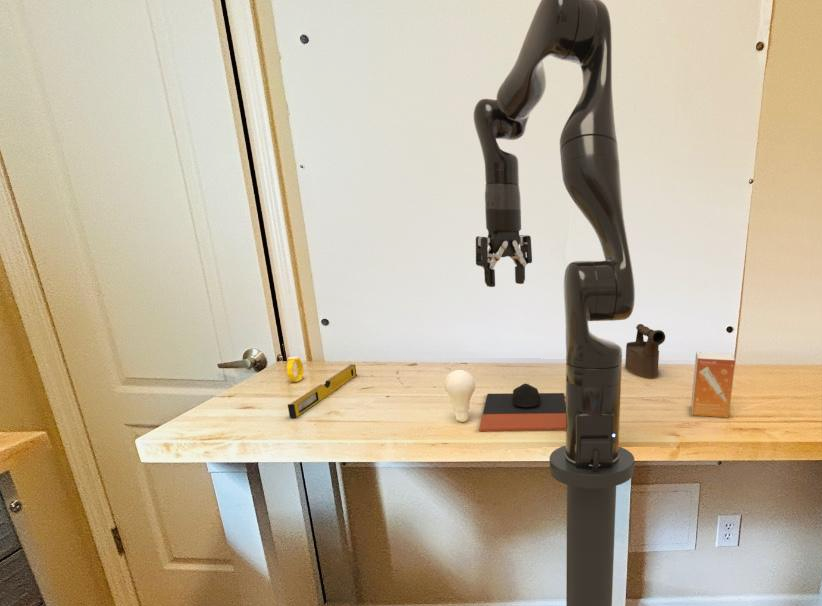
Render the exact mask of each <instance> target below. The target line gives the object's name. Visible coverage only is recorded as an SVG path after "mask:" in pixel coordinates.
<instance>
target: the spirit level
mask: <svg viewBox="0 0 822 606" xmlns="http://www.w3.org/2000/svg"><path fill="white" fill-rule="evenodd" d="M356 368H357V366H356V364H349V365H348V366H346V367H345V368H344V369H342V370H341V371H339V372H338V373H336V374H335V375H333V376H331V377H330V378H327V380H325V383H323V384H319V385H317V386H316V387H314V388H313V389H311V390H310V391H308V392H306V393H305V394H304V395H301V396H300V397H298V398H297V399H296V400H294V401H292V402H291V403H290V404H289V403H287V410H288V414H289V418H290V419H297V418H298V417H299V416H301V415H302V414H303V413H305V412H306V411H307V410H310V409H311V408H312V407H313V406H315V405H316V404H318V403H319V402H321V401H322V400H323V399H325V398H326V397H327V396H329V395H331V394H333V392H335V391H336V390H338V389H339V388H341V387H342V386H343V385H344V384H346V383H348V382H350V381H351V380H352V379H353V378H355V377H357V376H358V375H357V374H358V373H357V369H356Z"/></svg>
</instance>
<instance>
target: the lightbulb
mask: <svg viewBox="0 0 822 606" xmlns="http://www.w3.org/2000/svg"><path fill="white" fill-rule="evenodd" d="M443 383H444V384H443V385H444V386H443V387H444V390H445V392H446V394H447V395H448V397H449V398H450V400H451V402H452V407H453V411H454V413H455V419H456V420H457V421H458V422H460V423H464V422H466V421H467V420H468V419H469V410H470V402H471V399H472V396H473V394H474V393H475V389H476V381H475V379H474V377H473V376H472V374H471V373H469V372H468V371H466V370H464V369H456V370H453V371H451V372H449V373H448V374H447V376H446V377H445V380H444V382H443Z"/></svg>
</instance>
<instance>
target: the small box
mask: <svg viewBox="0 0 822 606" xmlns="http://www.w3.org/2000/svg"><path fill="white" fill-rule="evenodd" d="M735 366H736V358H735V357H734V354H733V353H726V352H725V353H724V352H723V353H722V352H703V351H700V352H699V351H696V352H695V359H694V369H693V370H694V371H693V380H692V381H693V383H692V393H691V404H690V405H691V406H690V408H691V415H692V416H702V417H715V418H725V419H727V418H729V417H730V408H731V400H732V393H733V392H732V391H733V383H734V375H735Z"/></svg>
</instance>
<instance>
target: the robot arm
mask: <svg viewBox="0 0 822 606" xmlns="http://www.w3.org/2000/svg"><path fill="white" fill-rule="evenodd" d="M612 38H613V37H612V24H611V16H610V12H609V9H608V7H607V5H606V4H605V3H604V2H603V1H602V0H540V2H539V3H538V6H537V7H536V10H535V12H534V15H533V18H532V20H531V22H530V24H529V28H528V30H527V32H526V35H525V37H524V40H523V43H522V45H521V48H520V50H519V53H518V55H517V58H516V61H515V63H514V65H513V66H512V68H511V70H510V71H509V73H508V74H507V76H506V77H505V78H504V80H503V82H502V83H501V84H500V86H499V88H498V90H497V93H496V99H492V98H481V99H480V100H478V101H477V103H476V104H475V106H474V108H473V109H474V110H473V124H474V128H475V132H476V135H477V138H478V142H479V145H480V148H481V154H482V158H483V162H484V163H483V164H484V178H485V179H484V181H485V186H484V209H485V229H486V230H487V236H481V235H479V236H478V235H477V236H476V237H475V265H476V266H479V267H481V268H483V271H484V272H483V273H484V274H483V275H484V283H485V285H486V287H488V288H494V287H496V271H495V270H496V269H495V267H496V264H497V263H498V262H499V261H500V259H501V258H507V257H509V258H510V259H511V260H512V261H513V262H514V264H515V266H514V278H515V279H514V281H515V284H517V285H523V284H524V283H525V281H526V267H527V265H528V264H532V262H533V252H532V237H531V235H527V234H520V232H521V230H522V204H521V203H522V201H521V199H522V198H521V190H520V172H519V168H520V166H519V164H520V163H519V158H518V157H517V155H515V154H513V153H511V152H508V151H505V150H503V149H502V148H501V147H500V145H499V143H498V140H503V141H517V140H519V139H521V138H523V136H524V135H525V133H526V130H527V126H528V122H529V119H530V115H531V113H532V112H533V111H534V110H535V108H537V106H538V105H539V103H540V102H541V101H542V100H543V97H544V95H545V93H546V89H547V76H546V70H545V67H544V60H545V59H546V58H548V57H553V58H554V59H557V60H561V61H565V62H568V63H572V64H576V65H579V67H580V69H581V75H582V76H581V77H582V88H581V94H580V96H579V98H578V101H577V102H576V104H575V106H574V107H573V109H572V111H571V113H570V114H569V115H568V118H567V120H566V122H565V123H564V126H563V128H562V131H561V133H560V138H559V156H560V167H561V177H562V182H563V185H564V188H565V190H566V192H567V193H568V195H569V197H570V199H571V200H572V202H573V203H574V204H575V206H576V207H577V208H578V210H579V211H580V213H581V214H582V216H583V217H584V218H585V219H586V220H587V222H588V224H589V225H590V226H591V227H592V229H593V231H594V233H595V235H596V237H597V239H598V241H599V244H600V247H601V250H602V253H603V257H604V258H603V259H604V260H574V261H573V260H572V261H570V262H569V263H568V264H567V266H566V268H565V271H564V275H563V285H562V286H563V288H562V289H563V307H564V328H565V329H564V330H565V331H564V333H565V334H564V335H565V338H564V339H565V404H566V430H565V445H566V452H565V459H566V460H567V461H568V462H569V463H570V464H572V465H575V466H576V468H577V469H581V468H593V471H598V468H612V467H613V464H615V463H616V462H617V461H618V460H619V453H618V452H619V447H620V421H621V420H620V419H621V396H622V395H621V392H622V391H621V390H622V370H623V367H622V366H623V348H622V346H621V345H620V344H619V343H616V342H614V341H612V340H609V339H605V338H603V337H600V336H597V335H596V334H594V333H592V332H591V331H590V326H589V322H608V321H611V322H613V321H614V322H615V321H623V320H624V321H625V320H627V319H629V318H630V317H631V315H633V311H634V308H635V303H636V302H635V301H636V285H635V277H634V272H633V265H632V260H631V259H632V258H631V252H630V246H629V241H628V235H627V229H626V223H625V217H624V208H623V196H622V183H621V166H620V155H619V145H618V138H617V130H616V129H617V128H616V121H615V110H614V98H613V97H614V95H613V60H612V59H613V56H612V54H613V53H612V51H613V50H612V49H613V48H612V47H613V44H612ZM488 247H489V248H488Z"/></svg>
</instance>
